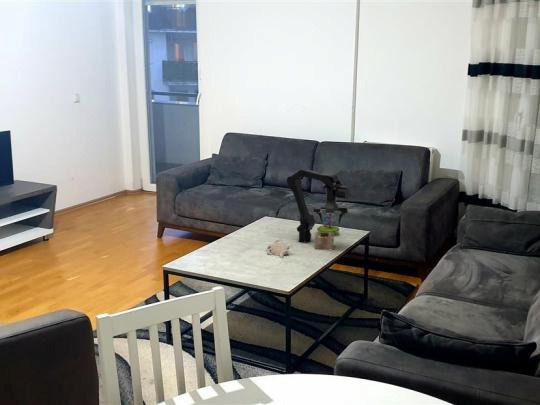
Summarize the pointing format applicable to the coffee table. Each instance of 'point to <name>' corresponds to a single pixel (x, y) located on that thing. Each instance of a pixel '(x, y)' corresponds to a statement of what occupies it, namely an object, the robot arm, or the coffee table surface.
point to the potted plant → (328, 227)
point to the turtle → (278, 248)
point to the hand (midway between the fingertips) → (330, 223)
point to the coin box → (324, 240)
